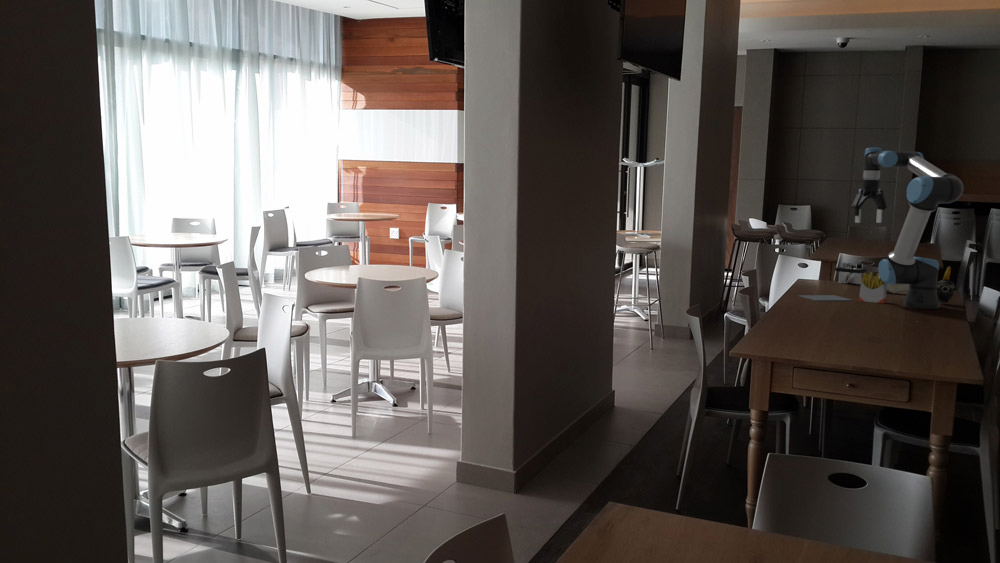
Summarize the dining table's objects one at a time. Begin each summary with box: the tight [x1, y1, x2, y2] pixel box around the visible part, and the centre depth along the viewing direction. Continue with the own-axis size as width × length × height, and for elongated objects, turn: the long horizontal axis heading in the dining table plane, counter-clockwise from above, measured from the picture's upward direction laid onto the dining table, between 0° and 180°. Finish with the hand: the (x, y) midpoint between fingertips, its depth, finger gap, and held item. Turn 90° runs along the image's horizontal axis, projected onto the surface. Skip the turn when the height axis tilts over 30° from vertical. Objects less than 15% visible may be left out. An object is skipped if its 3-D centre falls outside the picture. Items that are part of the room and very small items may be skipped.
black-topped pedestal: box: [834, 261, 867, 285], centre depth 455 cm, size 28×26×13 cm
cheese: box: [879, 276, 909, 295], centre depth 428 cm, size 15×7×15 cm
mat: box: [797, 294, 854, 302], centre depth 405 cm, size 16×20×1 cm
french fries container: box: [858, 272, 887, 304], centre depth 397 cm, size 5×11×18 cm, turn 51°
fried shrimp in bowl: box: [937, 266, 956, 304], centre depth 398 cm, size 9×11×18 cm
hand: (868, 222), depth 413 cm, fingers open, 13 cm apart
